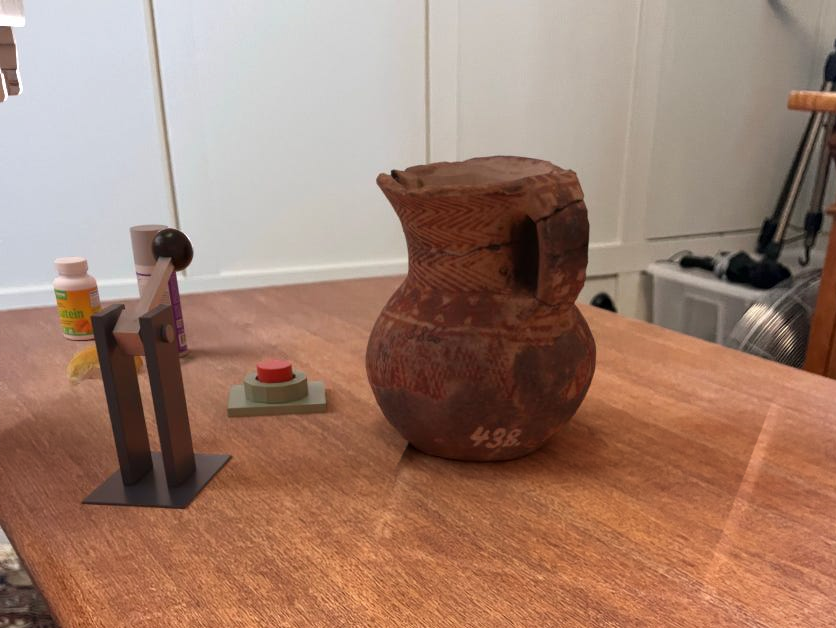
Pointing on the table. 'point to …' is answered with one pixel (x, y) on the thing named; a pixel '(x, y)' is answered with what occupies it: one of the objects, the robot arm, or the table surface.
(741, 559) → the table surface
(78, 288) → the supplement bottle
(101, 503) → the dark wooden stand
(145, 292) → the ball knob lever
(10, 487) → the table surface
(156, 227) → the container
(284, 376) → the button
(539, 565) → the table surface
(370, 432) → the table surface
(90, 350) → the yellow curved piece
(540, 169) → the jug
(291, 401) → the switch box
